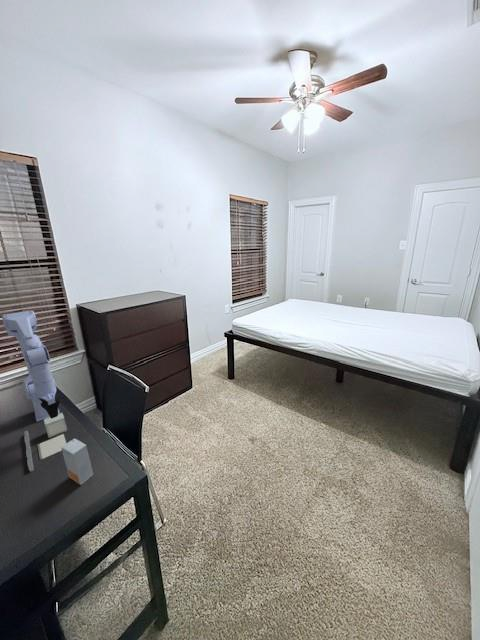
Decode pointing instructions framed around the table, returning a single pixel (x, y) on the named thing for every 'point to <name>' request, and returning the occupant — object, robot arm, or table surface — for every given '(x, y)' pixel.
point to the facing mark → (51, 446)
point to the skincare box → (77, 461)
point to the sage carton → (55, 425)
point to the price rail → (28, 451)
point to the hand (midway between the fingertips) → (51, 412)
